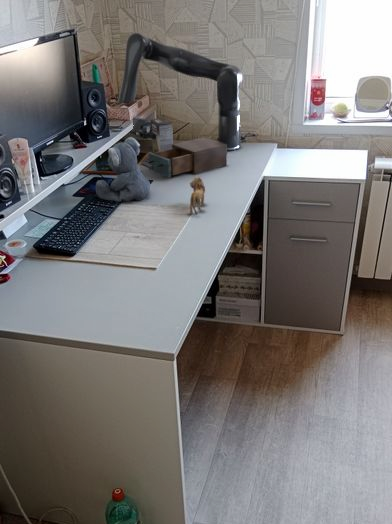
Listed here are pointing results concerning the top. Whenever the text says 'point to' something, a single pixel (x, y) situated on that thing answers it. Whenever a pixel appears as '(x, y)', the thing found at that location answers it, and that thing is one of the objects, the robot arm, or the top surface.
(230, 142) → the robot arm
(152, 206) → the top surface
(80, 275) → the top surface
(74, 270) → the top surface
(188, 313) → the top surface
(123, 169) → the koala plush
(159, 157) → the drawer
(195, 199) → the lion figurine
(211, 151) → the cabinet
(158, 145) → the coffee box
